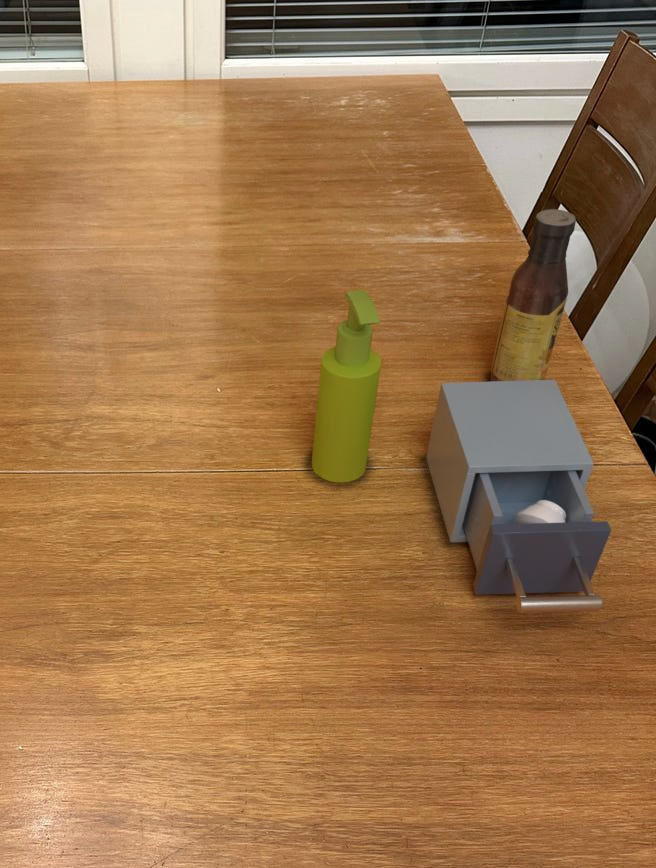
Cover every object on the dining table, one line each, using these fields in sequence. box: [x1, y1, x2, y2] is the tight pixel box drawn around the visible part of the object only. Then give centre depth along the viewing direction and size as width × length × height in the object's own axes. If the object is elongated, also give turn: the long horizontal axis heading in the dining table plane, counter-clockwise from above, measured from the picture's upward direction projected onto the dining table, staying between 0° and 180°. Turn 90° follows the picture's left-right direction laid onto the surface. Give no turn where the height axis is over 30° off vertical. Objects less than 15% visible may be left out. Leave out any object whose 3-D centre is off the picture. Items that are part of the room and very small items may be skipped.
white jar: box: [513, 500, 566, 524], centre depth 92 cm, size 5×3×5 cm, turn 56°
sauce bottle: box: [490, 208, 577, 382], centre depth 108 cm, size 7×6×20 cm
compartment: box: [463, 470, 612, 614], centre depth 91 cm, size 19×10×8 cm, turn 1°
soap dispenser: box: [310, 289, 382, 484], centre depth 99 cm, size 6×7×20 cm
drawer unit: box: [425, 379, 595, 543], centre depth 99 cm, size 14×12×10 cm
